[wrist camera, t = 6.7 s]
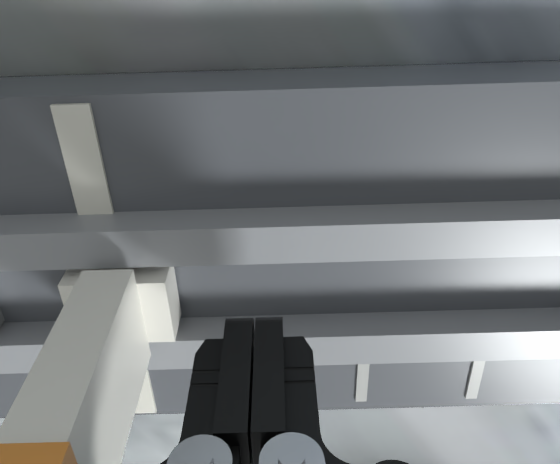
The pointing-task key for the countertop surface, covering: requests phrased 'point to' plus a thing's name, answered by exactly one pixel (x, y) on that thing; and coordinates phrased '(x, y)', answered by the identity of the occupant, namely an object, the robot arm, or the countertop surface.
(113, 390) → the fader tab
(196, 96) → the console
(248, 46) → the countertop surface
